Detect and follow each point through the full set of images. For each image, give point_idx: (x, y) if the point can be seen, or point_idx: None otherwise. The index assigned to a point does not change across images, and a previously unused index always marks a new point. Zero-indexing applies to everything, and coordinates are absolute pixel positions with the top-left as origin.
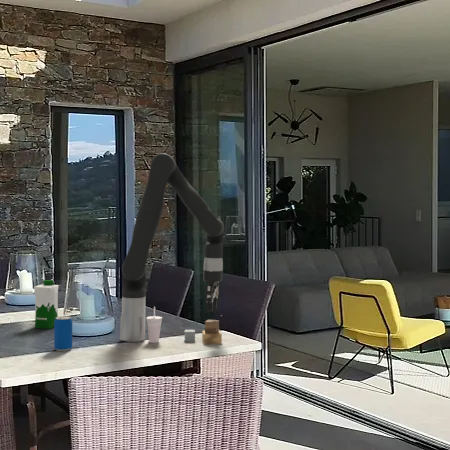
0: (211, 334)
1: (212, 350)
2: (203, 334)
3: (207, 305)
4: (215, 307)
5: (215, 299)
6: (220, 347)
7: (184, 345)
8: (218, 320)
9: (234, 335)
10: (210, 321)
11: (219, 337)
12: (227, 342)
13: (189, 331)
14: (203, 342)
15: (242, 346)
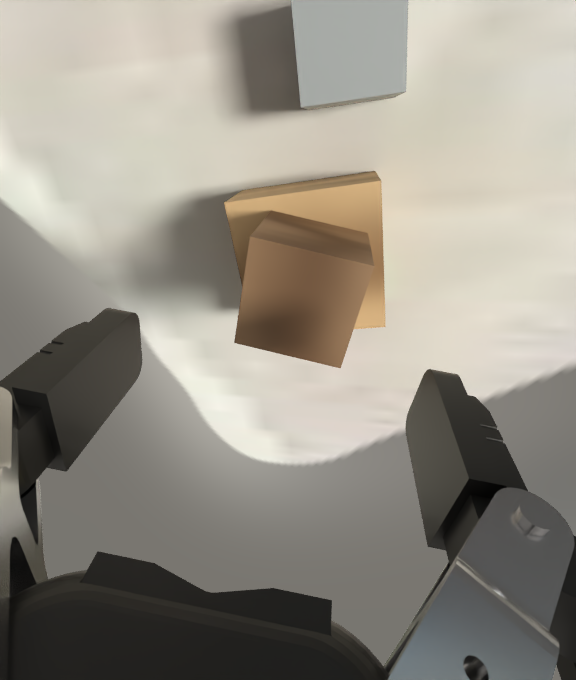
0: (239, 265)
1: (77, 255)
2: (254, 197)
3: (20, 365)
4: (410, 423)
5: (432, 530)
6: (162, 300)
7: (155, 22)
8: (333, 364)
9: (501, 386)
10: (273, 292)
11: None
12: None
13: (310, 35)
14: (260, 188)
15: (212, 404)
